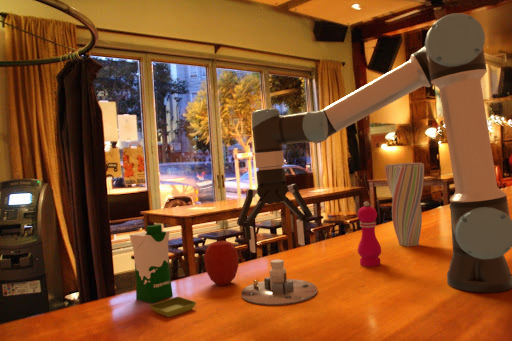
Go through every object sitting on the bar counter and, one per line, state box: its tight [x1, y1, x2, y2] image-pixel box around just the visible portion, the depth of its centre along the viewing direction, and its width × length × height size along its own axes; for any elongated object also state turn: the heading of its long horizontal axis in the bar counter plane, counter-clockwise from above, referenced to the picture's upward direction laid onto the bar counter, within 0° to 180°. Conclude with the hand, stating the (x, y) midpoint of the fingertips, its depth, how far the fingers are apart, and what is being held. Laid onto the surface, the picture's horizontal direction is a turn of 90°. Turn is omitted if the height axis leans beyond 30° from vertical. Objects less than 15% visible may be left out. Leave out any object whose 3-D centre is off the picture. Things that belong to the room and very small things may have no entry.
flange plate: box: [241, 276, 318, 306], centre depth 120 cm, size 20×20×4 cm
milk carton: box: [129, 224, 174, 305], centre depth 123 cm, size 9×9×20 cm
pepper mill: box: [357, 201, 382, 268], centre depth 143 cm, size 7×7×20 cm
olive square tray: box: [149, 296, 197, 318], centre depth 112 cm, size 9×9×2 cm
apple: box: [203, 236, 239, 287], centre depth 132 cm, size 10×10×14 cm
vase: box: [384, 162, 425, 247], centre depth 167 cm, size 14×14×30 cm
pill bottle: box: [269, 258, 288, 290], centre depth 120 cm, size 4×4×8 cm
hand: (277, 248), depth 120 cm, fingers open, 13 cm apart
